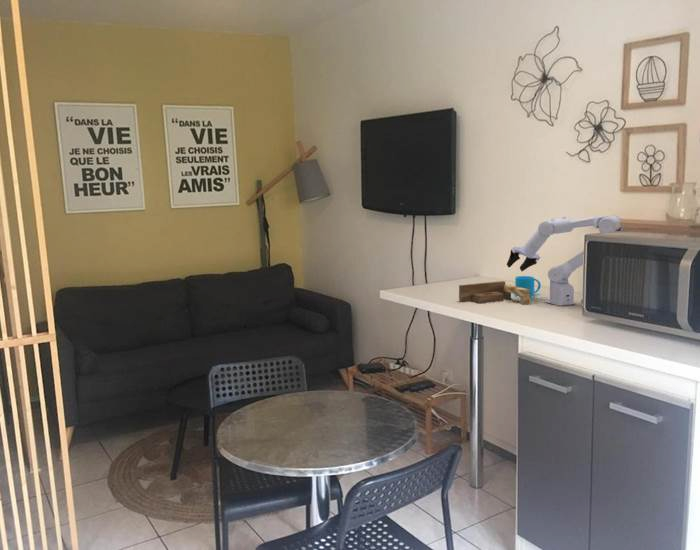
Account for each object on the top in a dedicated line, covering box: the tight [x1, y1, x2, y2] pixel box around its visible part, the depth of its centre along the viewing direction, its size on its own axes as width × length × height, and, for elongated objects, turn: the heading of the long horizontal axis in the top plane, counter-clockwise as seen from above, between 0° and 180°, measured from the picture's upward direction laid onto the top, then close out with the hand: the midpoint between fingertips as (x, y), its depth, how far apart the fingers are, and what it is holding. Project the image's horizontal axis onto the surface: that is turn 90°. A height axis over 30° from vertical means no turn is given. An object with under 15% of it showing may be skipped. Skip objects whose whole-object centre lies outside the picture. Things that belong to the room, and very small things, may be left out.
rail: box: [504, 284, 531, 306], centre depth 267 cm, size 14×3×6 cm, turn 21°
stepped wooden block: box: [458, 280, 506, 304], centre depth 270 cm, size 8×22×7 cm, turn 112°
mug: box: [514, 275, 542, 298], centre depth 280 cm, size 12×8×8 cm
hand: (514, 267), depth 273 cm, fingers open, 7 cm apart
